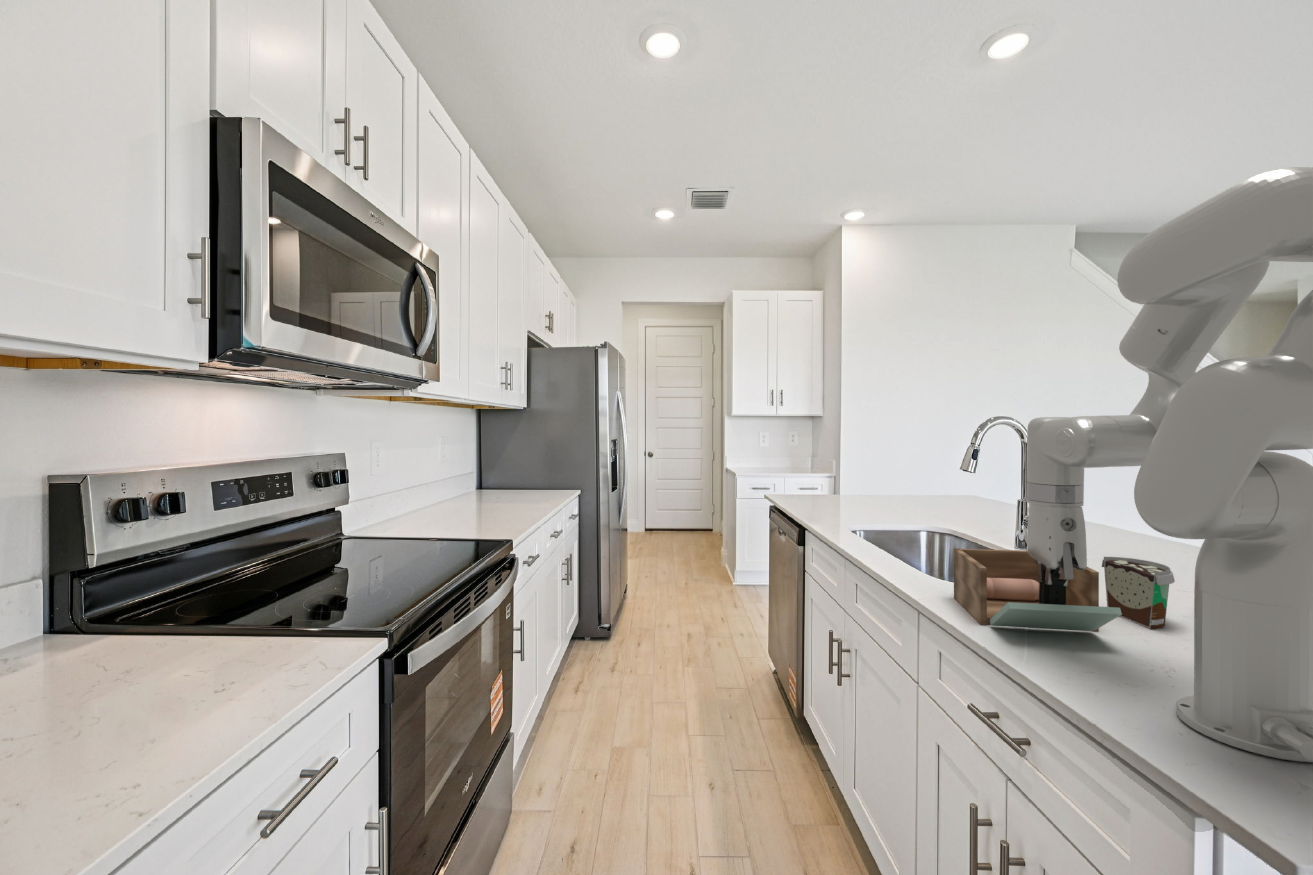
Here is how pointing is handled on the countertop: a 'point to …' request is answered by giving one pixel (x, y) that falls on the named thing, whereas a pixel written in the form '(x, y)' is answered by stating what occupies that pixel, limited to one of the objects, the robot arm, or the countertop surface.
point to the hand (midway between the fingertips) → (1052, 607)
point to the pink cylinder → (1012, 589)
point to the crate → (1009, 564)
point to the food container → (1138, 589)
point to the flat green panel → (1054, 616)
